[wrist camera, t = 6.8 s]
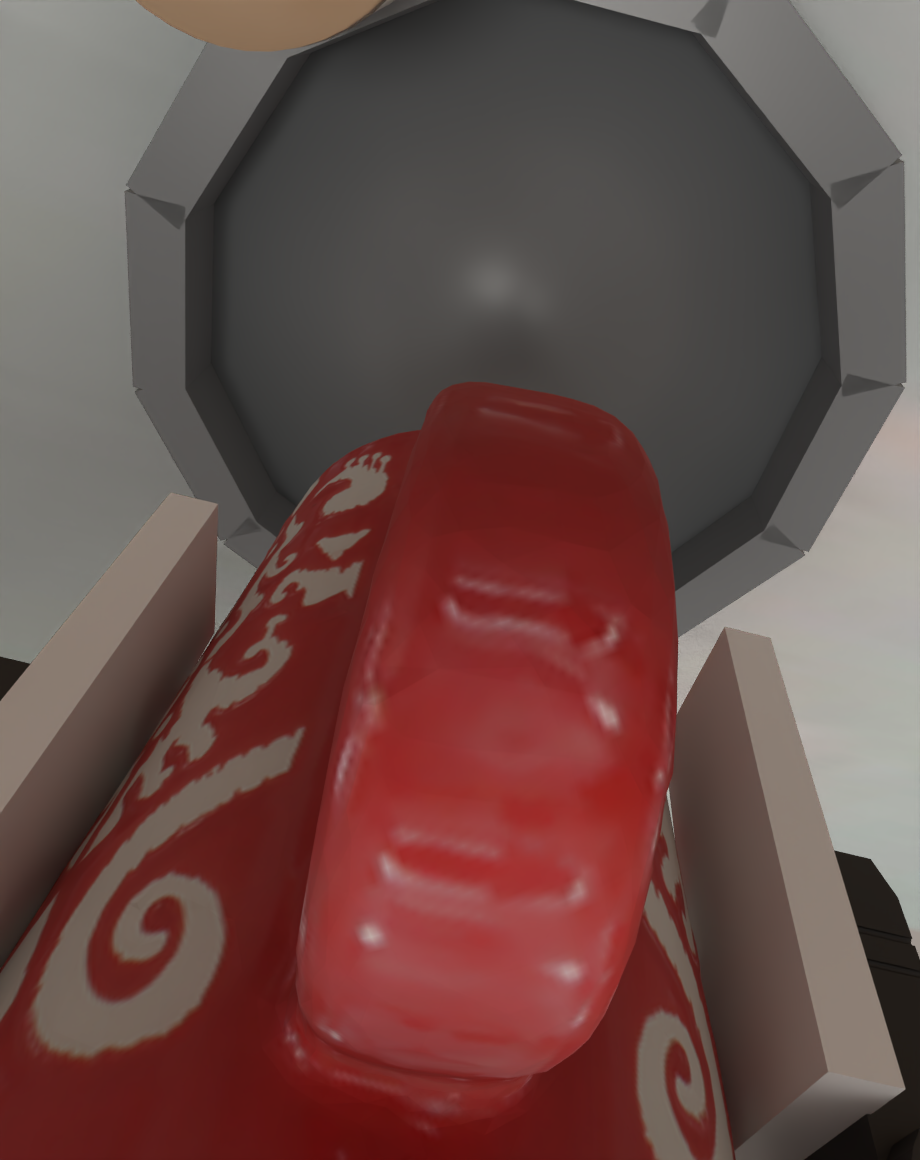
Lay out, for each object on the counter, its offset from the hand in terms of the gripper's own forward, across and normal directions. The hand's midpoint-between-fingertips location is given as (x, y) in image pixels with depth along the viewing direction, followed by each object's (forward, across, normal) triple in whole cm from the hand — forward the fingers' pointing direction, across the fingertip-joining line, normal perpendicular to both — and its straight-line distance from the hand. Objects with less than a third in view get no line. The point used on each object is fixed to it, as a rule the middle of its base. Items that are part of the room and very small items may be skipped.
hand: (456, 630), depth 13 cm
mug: (+4, 0, 0) cm, 4 cm away
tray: (+13, 0, 0) cm, 13 cm away
